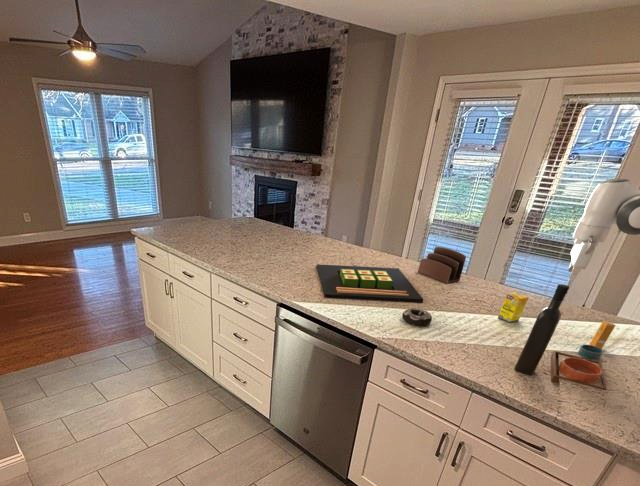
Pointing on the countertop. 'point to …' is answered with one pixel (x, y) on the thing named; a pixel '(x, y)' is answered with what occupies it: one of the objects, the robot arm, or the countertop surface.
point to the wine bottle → (541, 333)
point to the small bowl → (590, 352)
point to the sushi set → (366, 283)
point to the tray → (556, 377)
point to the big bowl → (580, 364)
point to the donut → (417, 317)
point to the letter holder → (443, 265)
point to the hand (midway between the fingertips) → (571, 275)
